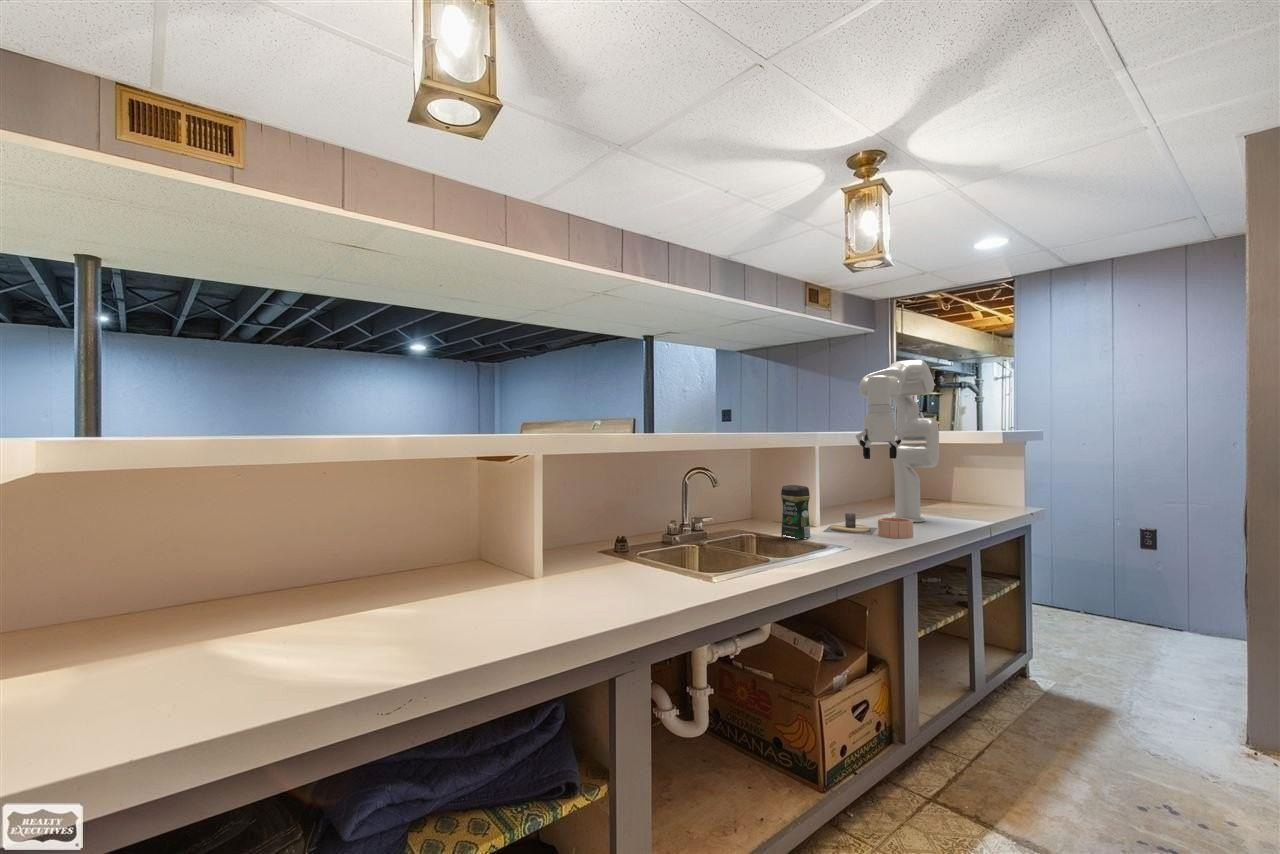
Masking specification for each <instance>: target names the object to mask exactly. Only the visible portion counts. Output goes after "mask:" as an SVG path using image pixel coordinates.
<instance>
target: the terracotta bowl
mask: <svg viewBox="0 0 1280 854" xmlns="http://www.w3.org/2000/svg"><path fill="white" fill-rule="evenodd" d="M877 529H878V536H880V537H882V538H883V537H884V538H890V539H910V538H913V537H914V522H913V520H910V519H905V518H891V517H881V518H878V519H877Z"/></svg>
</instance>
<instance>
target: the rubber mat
mask: <svg viewBox="0 0 1280 854" xmlns="http://www.w3.org/2000/svg"><path fill="white" fill-rule="evenodd" d="M832 525H833V524H830V525H829V526H828V527H827V528H825V529H824V530H823V531H822V533H832V534H833V533H834V534H835V533H836V534H849V535H851V534H852V535H862V536H863V535H867V536H873V534H874V533H875V532H876V531H877V529H878V527H871V526H870V527H871V531H870V532H864V533H846V532H838V531H833V530H831V526H832Z"/></svg>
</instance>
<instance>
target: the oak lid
mask: <svg viewBox="0 0 1280 854" xmlns="http://www.w3.org/2000/svg"><path fill="white" fill-rule="evenodd" d="M844 517H845V523H842V524H831V525H832V526H831V525H830V526H831V530H833V531H838V532H846V533H845V534H848V533H864V532H870V531H871V526H869V525H862V524H857V523H856V522H857V521H856V513H854V512H846V513H845V514H844Z"/></svg>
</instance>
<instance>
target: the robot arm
mask: <svg viewBox="0 0 1280 854" xmlns="http://www.w3.org/2000/svg"><path fill="white" fill-rule="evenodd" d="M934 381H935V380H934V378H933V375H932V372H931V369H930V367H929V365H928V364H927V362H926V361H924V360H923V359H909V360H899V361H894V362H893V363H891V364H890V365H889V366H888V367H887V368H885V369H882V370H878V371H875V372H871V373H869V374H867V375H865V376H864V377H863V378H862V379H861V381H860V383H859V387H858V389H859V390H858V391H859V393H860V395H861V397H863V398H865V399H867V414H865V415H864V416H865V417H864V421H863V430H862V432H859V433H857V434H856V435H855V438H856V441H857V442H858V444H859V445H860V446H861V448H862V456H863V458H864V460H870V459H871V448H870V445H871V444H872V443H888V445H889V446H890V447H889V449H888V450H889V459H892V463H893V470H894V501H895V502H894V506H895V507H894V508H895V509H894V510H895V513H894V514H895V515H892V516H891V517H890V518H905V519H910V520H913V523H923V522H926V519H925V517H922V516H921V479H920V476H919V474H918V473H917V471H915V469H914V468H936V466H937V465H938V463H939V459H940V429H939V423H938V421H937V419H935V418H932V417H920V407H919V404H918V403H917V402H916V401H915V399H913V398H912V397H911V396H927V395H930V394H932V392H933V391H934V390H935V382H934ZM891 398H892V400H893V402H894V404H895V407H893V406H892V405H891V404H892V403H891ZM895 408H896V420H895V421H896V423H895V421H894V415H893V414H892V412H893V411H894V409H895ZM895 424H896V427H895ZM896 437H897V438H896ZM903 441H905V442H925V443H902V442H903Z"/></svg>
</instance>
